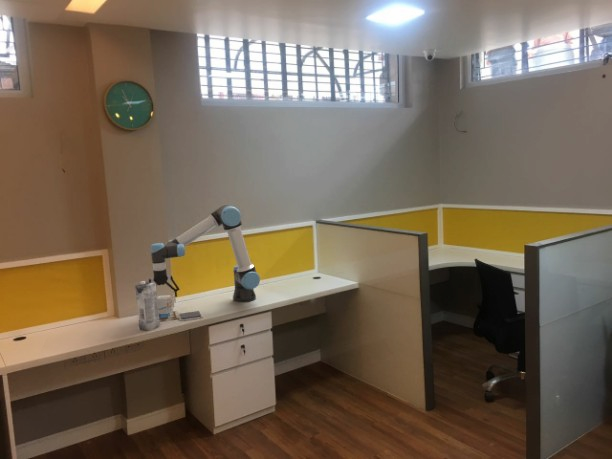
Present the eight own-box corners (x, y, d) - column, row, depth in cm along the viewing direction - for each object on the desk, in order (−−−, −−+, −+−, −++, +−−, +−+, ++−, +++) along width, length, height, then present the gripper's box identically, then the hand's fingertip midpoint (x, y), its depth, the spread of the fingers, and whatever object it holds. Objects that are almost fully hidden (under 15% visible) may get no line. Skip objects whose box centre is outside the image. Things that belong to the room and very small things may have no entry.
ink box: (167, 318, 316) (165, 299, 314) (154, 318, 318) (152, 299, 316) (173, 313, 324) (172, 295, 323) (160, 313, 326) (159, 295, 324)
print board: (176, 312, 331) (176, 310, 330) (178, 319, 316) (178, 317, 316) (149, 316, 326) (149, 314, 325) (150, 323, 311) (150, 320, 311)
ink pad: (200, 312, 328) (199, 310, 328) (202, 317, 316) (202, 315, 316) (178, 315, 324) (178, 313, 323) (180, 321, 312) (180, 318, 312)
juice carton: (162, 325, 305) (157, 279, 301) (149, 331, 296) (145, 284, 292) (149, 324, 309) (145, 278, 305) (137, 330, 299) (132, 283, 296)
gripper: (180, 265, 324) (183, 299, 327) (137, 271, 317) (141, 305, 320) (181, 267, 317) (185, 302, 320) (137, 273, 310) (142, 308, 313)
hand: (163, 304), depth 320 cm, fingers open, 13 cm apart
